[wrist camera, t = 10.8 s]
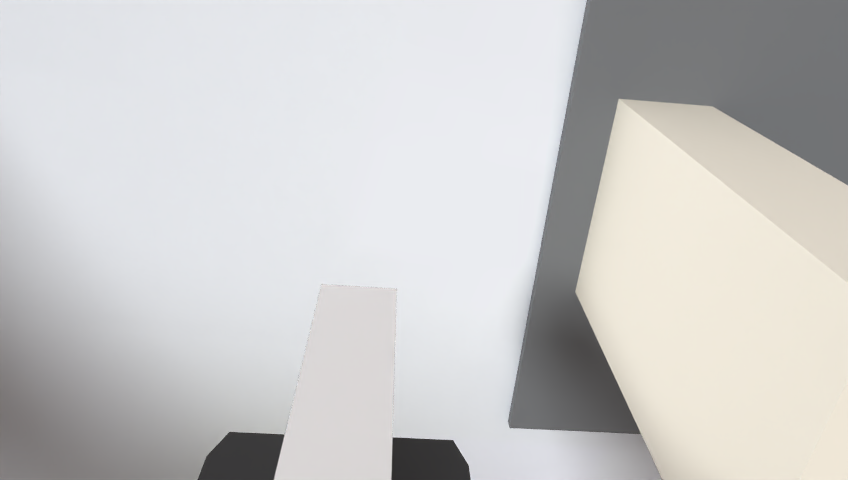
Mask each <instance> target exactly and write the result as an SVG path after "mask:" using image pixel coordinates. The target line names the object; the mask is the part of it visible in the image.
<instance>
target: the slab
mask: <svg viewBox="0 0 848 480" xmlns="http://www.w3.org/2000/svg"><path fill="white" fill-rule="evenodd" d="M575 293H576V295H577V297H578V299H579V301H580V303H581V305H582V308H583V310H584V312H585V314H586V316H587V318H588V321H589V323H590V325H591V327H592V329H593V331H594V333H595V336H596V338H597V340H598V342H599V344H600V346H601V349H602V351H603V353H604V355H605V357H606V359H607V362H608V364H609V366H610V368H611V370H612V372H613V374H614V377H615V379H616V381H617V383H618V385H619V387H620V390H621V392H622V394H623V396H624V398H625V400H626V402H627V405H628V407H629V409H630V411H631V413H632V415H633V418H634V420H635V422H636V424H637V426H638V428H639V430H640V433H641V435H642V437H643V439H644V441H645V443H646V446H647V448H648V450H649V452H650V454H651V456H652V458H653V461H654V463H655V465H656V467H657V469H658V471H659V474H660V476H661V478H662V480H848V185H846V184H845V183H843V182H841V181H839V180H838V179H836V178H834V177H833V176H831V175H829V174H827V173H826V172H824V171H822V170H821V169H819V168H817V167H815V166H814V165H812V164H810V163H809V162H807V161H805V160H803V159H802V158H800V157H798V156H797V155H795V154H793V153H791V152H790V151H788V150H786V149H785V148H783V147H781V146H779V145H778V144H776V143H774V142H773V141H771V140H769V139H767V138H766V137H764V136H762V135H761V134H759V133H757V132H755V131H754V130H752V129H750V128H749V127H747V126H745V125H743V124H742V123H740V122H738V121H737V120H735V119H733V118H731V117H730V116H728V115H726V114H725V113H723V112H721V111H719V110H718V109H716V108H714V107H713V106H702V105H690V104H677V103H665V102H653V101H640V100H628V99H619V100H618V104H617V109H616V113H615V118H614V122H613V126H612V131H611V135H610V140H609V144H608V149H607V153H606V158H605V162H604V166H603V171H602V175H601V180H600V184H599V189H598V193H597V197H596V202H595V206H594V211H593V215H592V220H591V224H590V229H589V233H588V237H587V242H586V246H585V251H584V255H583V260H582V264H581V268H580V273H579V277H578V282H577V286H576V291H575Z"/></svg>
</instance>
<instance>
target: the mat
mask: <svg viewBox="0 0 848 480" xmlns="http://www.w3.org/2000/svg"><path fill="white" fill-rule="evenodd" d="M619 99H628V100H640V101H653V102H665V103H677V104H690V105H702V106H713V107H714V108H716V109H718V110H719V111H721V112H723V113H725V114H726V115H728V116H730V117H731V118H733V119H735V120H737V121H738V122H740V123H742V124H743V125H745V126H747V127H749V128H750V129H752V130H754V131H755V132H757V133H759V134H761V135H762V136H764V137H766V138H767V139H769V140H771V141H773V142H774V143H776V144H778V145H779V146H781V147H783V148H785V149H786V150H788V151H790V152H791V153H793V154H795V155H797V156H798V157H800V158H802V159H803V160H805V161H807V162H809V163H810V164H812V165H814V166H815V167H817V168H819V169H821V170H822V171H824V172H826V173H827V174H829V175H831V176H833V177H834V178H836V179H838V180H839V181H841V182H843V183H845V184H846V185H848V0H587V3H586V8H585V13H584V19H583V24H582V29H581V35H580V40H579V45H578V51H577V56H576V61H575V67H574V72H573V77H572V83H571V88H570V93H569V99H568V104H567V110H566V115H565V120H564V126H563V131H562V136H561V142H560V147H559V152H558V158H557V163H556V168H555V174H554V179H553V184H552V190H551V195H550V200H549V206H548V211H547V216H546V222H545V227H544V232H543V238H542V243H541V248H540V254H539V259H538V264H537V270H536V275H535V281H534V286H533V291H532V297H531V302H530V307H529V313H528V318H527V323H526V329H525V334H524V339H523V345H522V350H521V355H520V361H519V366H518V371H517V377H516V382H515V387H514V393H513V398H512V403H511V409H510V414H509V419H508V422H509V427H510V428H524V429H546V430H567V431H589V432H611V433H633V434H641V433H640V430H639V428H638V426H637V424H636V422H635V420H634V418H633V415H632V413H631V411H630V409H629V407H628V405H627V402H626V400H625V398H624V396H623V394H622V392H621V390H620V387H619V385H618V383H617V381H616V379H615V377H614V374H613V372H612V370H611V368H610V366H609V364H608V362H607V359H606V357H605V355H604V353H603V351H602V349H601V346H600V344H599V342H598V340H597V338H596V336H595V333H594V331H593V329H592V327H591V325H590V323H589V321H588V318H587V316H586V314H585V312H584V310H583V308H582V305H581V303H580V301H579V299H578V297H577V295H576V293H575V291H576V286H577V282H578V277H579V273H580V268H581V264H582V260H583V255H584V251H585V246H586V242H587V237H588V233H589V229H590V224H591V220H592V215H593V211H594V206H595V202H596V197H597V193H598V189H599V184H600V180H601V175H602V171H603V166H604V162H605V158H606V153H607V149H608V144H609V140H610V135H611V131H612V126H613V122H614V118H615V113H616V109H617V104H618V100H619Z"/></svg>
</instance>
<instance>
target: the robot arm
mask: <svg viewBox="0 0 848 480" xmlns="http://www.w3.org/2000/svg"><path fill="white" fill-rule="evenodd" d="M396 301H397V289H394V288H377V287H360V286H343V285H327V284H321V287H320V291H319V295H318V299H317V304H316V308H315V312H314V316H313V320H312V324H311V328H310V332H309V337H308V341H307V345H306V349H305V353H304V357H303V361H302V366H301V370H300V374H299V378H298V382H297V386H296V390H295V394H294V399H293V403H292V407H291V411H290V415H289V419H288V423H287V428H286V432H285V435H282V434H260V433H238V432H229V433H228V434H227V435H226V436H225V438H224V439H223V440H222V441H221V442H220V443H219V444H218V445H217V446H216V447H215V448H214V449H213V450H212V451H211V452H210V453H209V455H208V456H207V457H206V460H205V462H204V465H203V467H202V470H201V473H200V475H199V478H198V480H470V473H469V466H468V464H467V462H466V461H465V459H464V457H463V456H462V454H461V453H460V451H459V449H458V448H457V446H456V444H455V443H454V441H453V440H435V439H413V438H393V405H394V370H395V336H396Z"/></svg>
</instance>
